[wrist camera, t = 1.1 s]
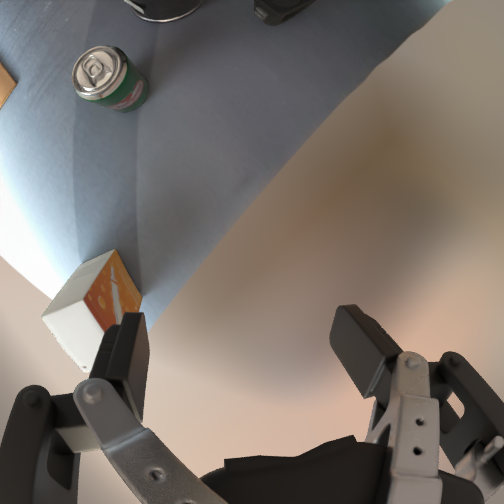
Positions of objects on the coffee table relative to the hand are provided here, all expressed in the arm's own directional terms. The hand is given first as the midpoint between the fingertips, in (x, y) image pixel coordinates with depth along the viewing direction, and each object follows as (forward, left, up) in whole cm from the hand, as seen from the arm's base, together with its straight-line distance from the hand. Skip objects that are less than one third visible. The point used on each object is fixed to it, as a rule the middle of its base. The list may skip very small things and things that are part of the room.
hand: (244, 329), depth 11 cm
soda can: (-2, -17, -25) cm, 30 cm away
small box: (+17, -2, -25) cm, 30 cm away
